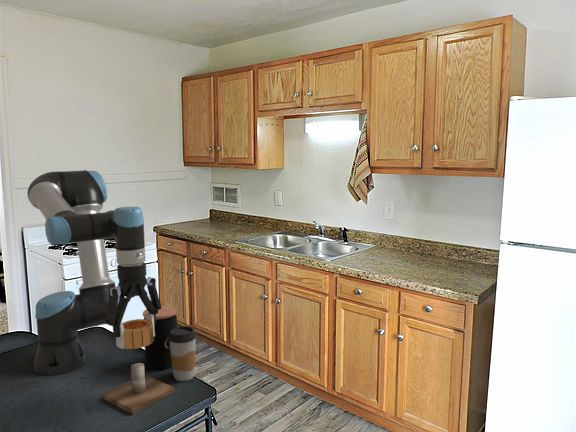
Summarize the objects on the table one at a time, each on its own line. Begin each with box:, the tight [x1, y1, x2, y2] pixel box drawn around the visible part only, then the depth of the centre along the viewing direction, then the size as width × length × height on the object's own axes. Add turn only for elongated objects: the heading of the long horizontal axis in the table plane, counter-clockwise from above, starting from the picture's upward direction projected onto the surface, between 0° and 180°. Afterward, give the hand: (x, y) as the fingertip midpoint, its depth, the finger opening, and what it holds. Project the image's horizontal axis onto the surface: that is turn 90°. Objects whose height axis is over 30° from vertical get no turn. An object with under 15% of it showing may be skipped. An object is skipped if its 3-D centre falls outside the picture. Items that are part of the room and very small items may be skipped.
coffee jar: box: [142, 305, 178, 371], centre depth 151 cm, size 11×11×18 cm
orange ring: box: [121, 318, 154, 350], centre depth 129 cm, size 9×9×5 cm
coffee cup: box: [169, 325, 197, 382], centre depth 142 cm, size 8×8×15 cm
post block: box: [102, 362, 176, 416], centre depth 131 cm, size 14×14×9 cm
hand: (136, 341), depth 129 cm, fingers closed on orange ring, 9 cm apart
